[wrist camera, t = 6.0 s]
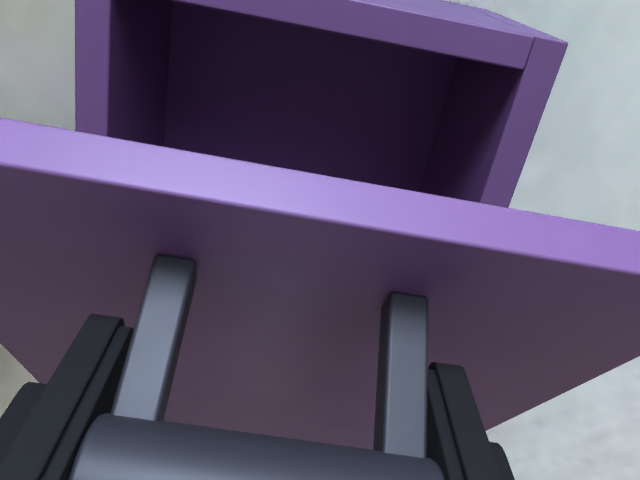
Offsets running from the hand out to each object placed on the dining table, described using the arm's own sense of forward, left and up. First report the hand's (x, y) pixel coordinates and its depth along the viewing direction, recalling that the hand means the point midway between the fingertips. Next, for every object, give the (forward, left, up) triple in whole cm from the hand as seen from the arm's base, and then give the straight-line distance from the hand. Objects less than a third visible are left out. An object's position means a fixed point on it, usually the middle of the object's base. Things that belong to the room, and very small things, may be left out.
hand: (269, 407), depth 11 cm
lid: (+2, -1, -5) cm, 5 cm away
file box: (+2, 0, -18) cm, 18 cm away
